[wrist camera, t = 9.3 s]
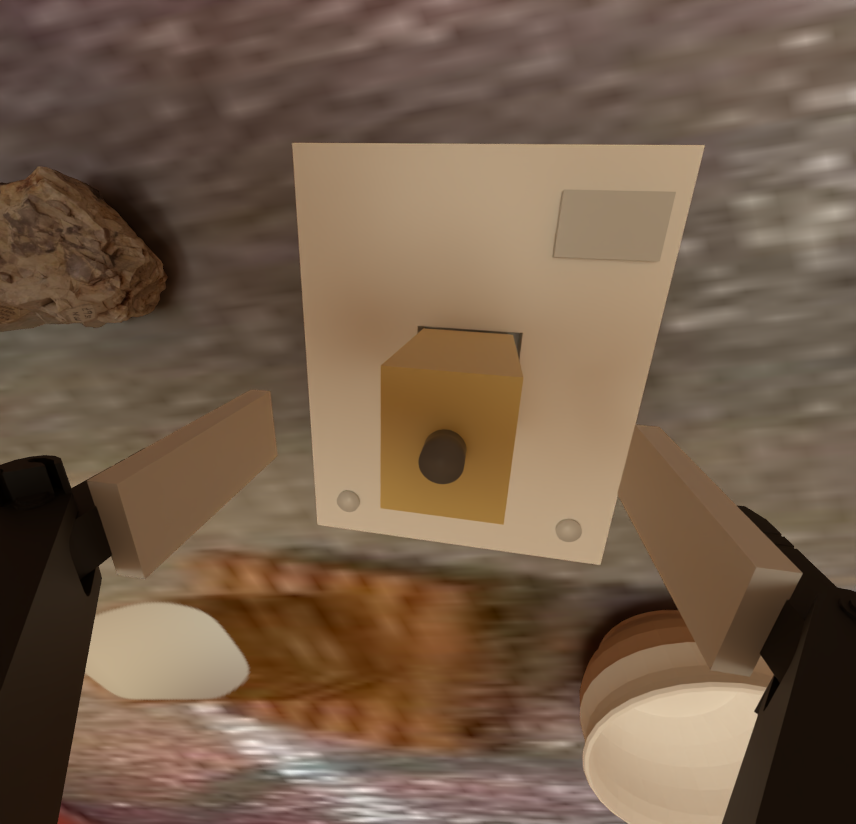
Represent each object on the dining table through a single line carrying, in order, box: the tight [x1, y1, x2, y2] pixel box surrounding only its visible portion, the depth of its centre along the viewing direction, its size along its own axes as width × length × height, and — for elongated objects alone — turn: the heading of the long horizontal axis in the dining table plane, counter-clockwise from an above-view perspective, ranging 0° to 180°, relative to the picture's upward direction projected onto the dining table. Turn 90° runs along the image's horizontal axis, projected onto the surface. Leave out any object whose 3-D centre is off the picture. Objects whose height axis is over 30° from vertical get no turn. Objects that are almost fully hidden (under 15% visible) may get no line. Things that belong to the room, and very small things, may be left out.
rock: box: [0, 167, 168, 332], centre depth 24 cm, size 9×12×10 cm
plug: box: [380, 328, 523, 525], centre depth 20 cm, size 6×5×13 cm
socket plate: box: [292, 143, 705, 565], centre depth 25 cm, size 24×20×4 cm
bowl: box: [580, 610, 774, 824], centre depth 28 cm, size 16×16×8 cm
